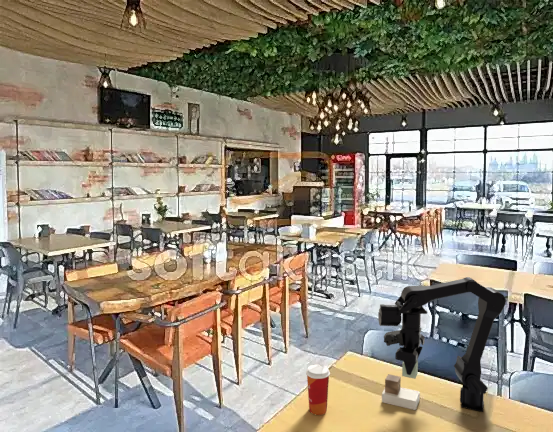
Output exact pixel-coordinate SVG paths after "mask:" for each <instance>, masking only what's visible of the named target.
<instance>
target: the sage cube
mask: <svg viewBox="0 0 553 432" xmlns="http://www.w3.org/2000/svg"><path fill="white" fill-rule="evenodd" d="M401 367H402V368H401V370H402V371H401V372H402V373H401V377H404V378H409V379H417V376H418V374H419V372H418V370H419V369H418V368H419V360H417V362H416V364H415V366H414V368H413V371H412V373H411V375H407V372H406V368H405V364H404V361H402V366H401Z"/></svg>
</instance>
